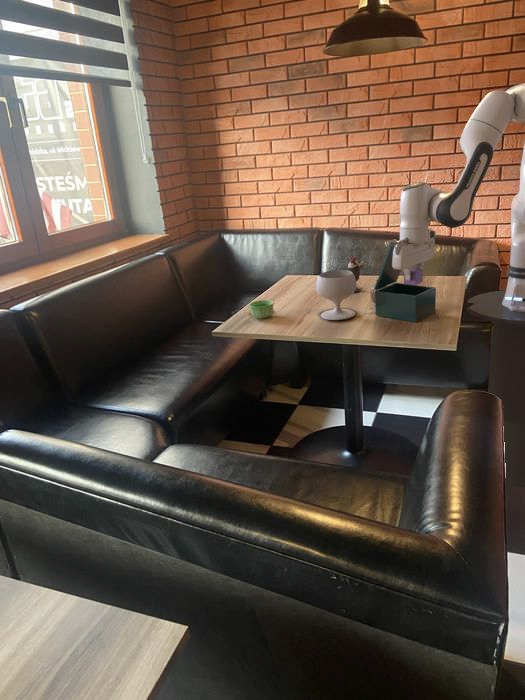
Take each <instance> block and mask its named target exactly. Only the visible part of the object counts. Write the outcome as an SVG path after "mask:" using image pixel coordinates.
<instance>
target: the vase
mask: <svg viewBox="0 0 525 700" xmlns="http://www.w3.org/2000/svg"><path fill="white" fill-rule="evenodd" d="M377 280H378V278H377V279H376V280H375V282H374V283H373V284H372V286H371V288H370V293H369V296H370V300H371V301H372V303H374V305H376V302H375V291H376V290H375V286H376V283H377ZM385 287H386V286H385ZM382 288H384V287H382ZM380 289H381V288H380ZM378 290H379V289H378Z"/></svg>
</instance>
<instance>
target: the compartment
mask: <svg viewBox="0 0 525 700" xmlns="http://www.w3.org/2000/svg"><path fill="white" fill-rule="evenodd" d="M436 299H437V287H434V286H428V285H420V284H417V285H412V284H404V282H395V283H392V284H390V285H387V286H386V287H384V288H381V289H379V290H376V291H375V302H376V304H375V316H378V317H383V318H387V319H393V320H399V321H405V322H411V323H418V322H420V321H422V320H424V319H426V318H428V317H429V316H431V315H433V314H435V313H436V302H437V301H436Z"/></svg>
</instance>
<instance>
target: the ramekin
mask: <svg viewBox="0 0 525 700" xmlns="http://www.w3.org/2000/svg"><path fill="white" fill-rule="evenodd" d="M248 305H249V309H250V313H251V316H252V317H253V318H257V319H260V318H262V319H263V318H267V317H270V316H272V315H274V301H273V300H272V299H271V300H269V299H261V300H256V301H255V300H254V301H252V302H250V303H249V304H248Z"/></svg>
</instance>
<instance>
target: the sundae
mask: <svg viewBox="0 0 525 700" xmlns="http://www.w3.org/2000/svg"><path fill="white" fill-rule="evenodd" d="M353 256H354V254H352V255H351V260H350V261H349V263H348V264H347V265H346V266H345V268H346V270H347V271H351V272H352V273H353V274H354V276H355V279H356V283H357V282H358V281H359V280H360V277H361V268H363V265H362V264H361V261H360V260H358V259H356V258H355V257H353ZM361 290H362V289H361V288H358V287H357V288H356V290H355V292H354V293H358V292H361Z"/></svg>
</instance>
